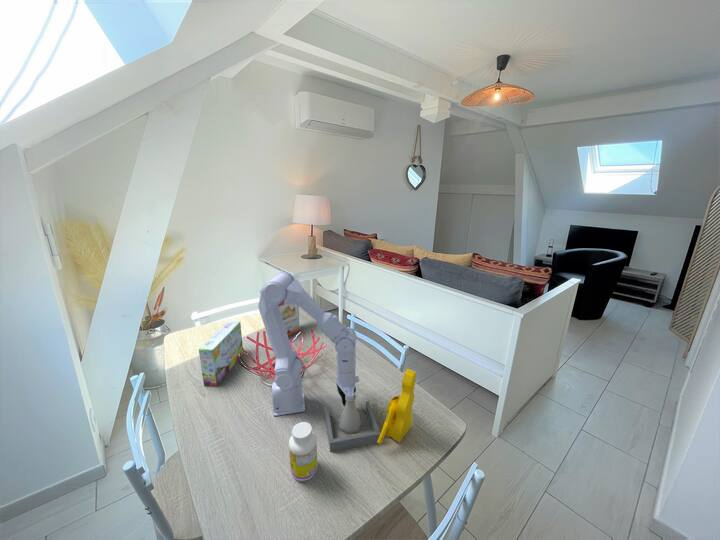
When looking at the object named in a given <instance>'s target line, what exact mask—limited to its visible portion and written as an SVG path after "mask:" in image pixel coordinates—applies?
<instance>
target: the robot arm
mask: <svg viewBox="0 0 720 540" xmlns="http://www.w3.org/2000/svg"><path fill="white" fill-rule="evenodd" d="M259 293H260V296H259V299H258V300H259V301H258V304H257V307H258V311H259V314H260V316H261V319H262V323H263V326H264V329H265V331H266V334H267V337H268V340H269V342H270V346H271V349H272V351H273V354H274V357H275V362H274V363H275V364H274V374H275V378H274V382H272V386H271V387H272V388H271V393H272V395H271V397H272V399H271V400H272V406H273V407H272V408H273V410H272V411H273V416H274V417H277V416H283V415H289V414H295V413H302V412H305V411H306V409H305V394H304V392H303V378H302V375H301V371H302V370H303V368H304V362H303V359H301V358H300V356H299V354H298V352H297V351H295V350H293V347H292V344H291V341H290V338H289V336H288V335H287V331H286V328H285V325H284V322H283V319H282V316H281V313H280V310H279V307H278V306H279V304H280V302H281V301H283V300H285V302H284V304H297V305H298V306H299V308H300V309H301V310H303V311H304V312H306V314H308V315H309V316H310V317H312V319H314V320H315V321H316V328H317V329H319V331H321V333H323V334H324V336H325V337H326V338H328V339H329V340H330V341H331V342H332V343H333V344H335V345H334V349H335V351H336V353H337V354H336V378H335V379H336V380H335V383H336V388H337V389H336V390H337V392H338V394H339V396H340V398H341V403H342V406H343V407H345V404H346V400H345V396H346V397H347V400H353V399H354V394H355V393H356V391H357V387H356V383H359V382H360V378H359V376H357V375H356V360H357V359H356V357H357V356H356V344H357V333H356V331H355V330H354V329H353V328H351V327H347V326H345V324H343V323H342V321H340V320H339V316H338V315H336V314H333V313H332V312H325V310H323V309H322V307H321V306H320V305H319V304H318V303H317V302H316V301H315V300H314V298H313V297H311V295H309V293H308V292H307V291H306V290H305V289H304V288H303V286H302V284H301V282H300V281H299V280H298V279H296V278H295V277H294V275H292V274H291V273H290V272H288V271H281V272H278V273H277V274H276V275H274V277H273V278H271V280H269V281H267V282H266V283H265V284H264V286H263V287H261V289H260V290H259ZM347 402H348V401H347Z"/></svg>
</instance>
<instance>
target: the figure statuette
mask: <svg viewBox="0 0 720 540" xmlns="http://www.w3.org/2000/svg"><path fill="white" fill-rule="evenodd" d="M416 380H417V371H414V370H413V369H410V368H406V370H405V371H404V373H403V377H402V381H401V393H400V394H398V395H396V396H393V397H392V398H391V399H390V401H389V402H387V406H386V411H385V412H386V415H385V416H386V417H385V420H384V421H383V426H382V429H381V432H380V436H379V439H378V441H377V444H379V445H382V444H383V442H384V439H385V437H386V436H387V438H388V437H389V438H391V439H392V440H394V441H396V442H398V443H399V444H400V443H402V441H403V439H404V438H405V436H406V435H407V434H408V432H409V431H410V429H411V427H412V425H413V404H414V401H415V395H414V392H415V386H416Z"/></svg>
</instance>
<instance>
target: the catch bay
mask: <svg viewBox="0 0 720 540" xmlns="http://www.w3.org/2000/svg"><path fill="white" fill-rule="evenodd" d="M365 412H366V413H365V414H366V415H367V418H368V422H369V424H370V427H371V431H370V432H366V433H361V434H360V433H359V434H354V435H348V436H344V437H338V438H334V437H333V429H332V424H331V417H330V413H329V408H328V407H325V408H324V419H325V426H326V432H327V440H328V446H329V452H335V451H340V450H346V449H351V448H357V447H361V446H367V445H372V444H378V442H377V441H378V439H379V436H380V434H381V432H380V429H379V427H378V424H377V423H378V422H377V421H376V418H375V415H374V413H373V409H372V407H371V405H370V402H369V400H368V401H367V400H366V401H365Z"/></svg>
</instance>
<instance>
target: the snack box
mask: <svg viewBox="0 0 720 540" xmlns="http://www.w3.org/2000/svg"><path fill="white" fill-rule="evenodd" d="M241 328H242V325H241V321H234V320H228V321H227V322H226V323H224V325H223V326H221V328H219V330H217V332H215V333H214V334H213V335H211V337H210V338H209V339H208V340H207V341H206V342H205V343H204V344H202V346H200V347H199V348H198V355H199V362H200V368H201V374H202V382H203V386H211V387H218V385H219V384H220V383H221V382H222V380H223V379H224V378H225V377H226V375H228V373H230V371H231V369H232V368H233V367H234V365H236V363H237V361H239V359H240V358H241V356H243V354H244V350H243V351H242V348H243V349H244V346H243V337H242V336H243V335H242V329H241ZM238 353H239V354H240V357H239V356H238Z"/></svg>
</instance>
